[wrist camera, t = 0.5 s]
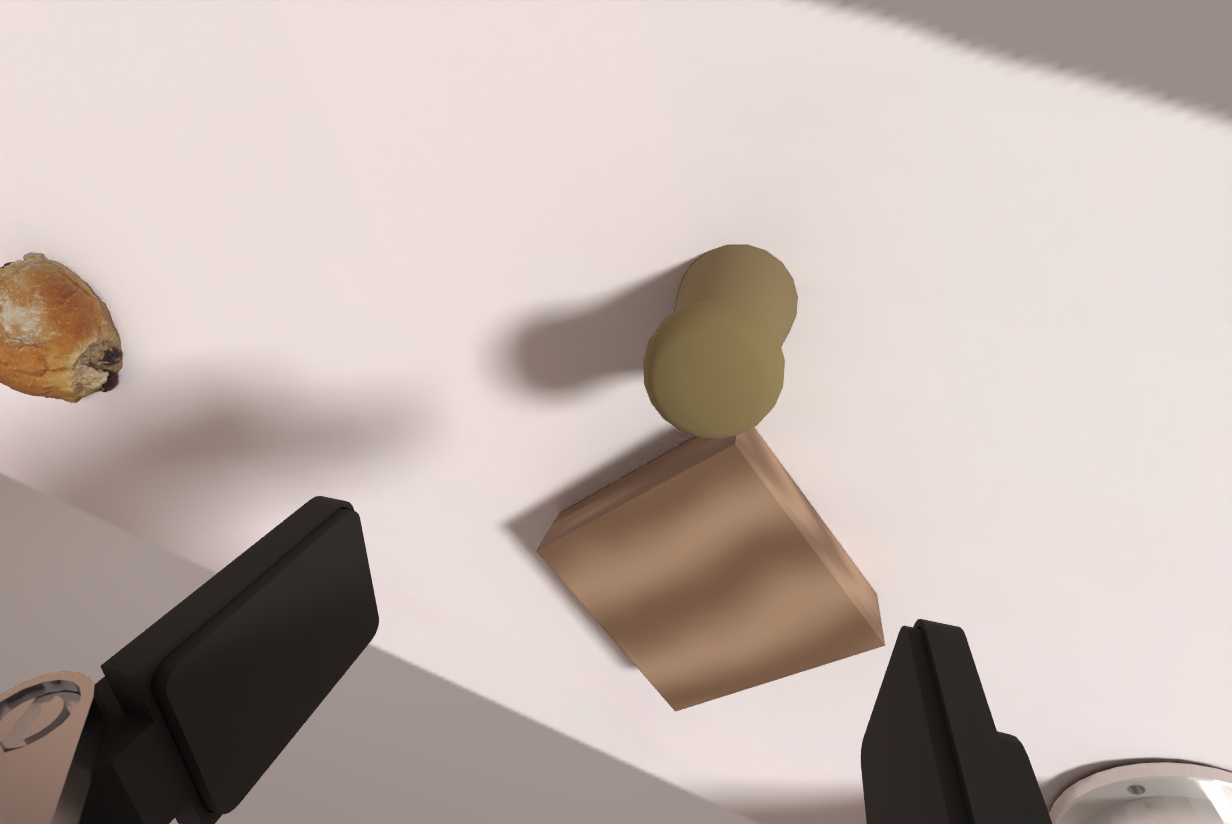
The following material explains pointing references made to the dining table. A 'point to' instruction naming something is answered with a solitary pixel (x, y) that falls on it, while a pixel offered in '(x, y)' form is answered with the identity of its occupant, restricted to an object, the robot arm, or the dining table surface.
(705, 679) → the walnut plinth
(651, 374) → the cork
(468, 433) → the dining table surface
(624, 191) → the dining table surface
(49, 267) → the bread roll
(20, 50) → the dining table surface
